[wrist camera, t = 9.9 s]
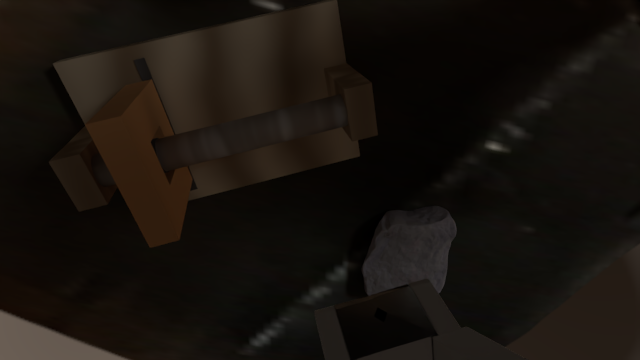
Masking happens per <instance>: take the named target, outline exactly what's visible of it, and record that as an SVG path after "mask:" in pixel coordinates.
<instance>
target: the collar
mask: <svg viewBox="0 0 640 360" xmlns="http://www.w3.org/2000/svg"><path fill="white" fill-rule="evenodd" d="M85 126H86V128H87V130H88V132H89V134H90V136H91V138H92V139H93V141H94V143H95V145H96V147H97V149H98V151H99V153H100V155H101V156H102V158H103V160H104V162H105V164H106V166H107V168H108V170H109V172H110V173H111V175H112V177H113V179H114V181H115V183H116V185H117V187H118V188H119V190H120V192H121V194H122V196H123V198H124V200H125V202H126V204H127V205H128V207H129V209H130V211H131V213H132V215H133V217H134V219H135V221H136V222H137V224H138V226H139V228H140V230H141V232H142V234H143V236H144V238H145V239H146V241H147V243H148V245H149V247H150V248H152V247H155V246H159V245H163V244H167V243H170V242H174V241H178V240H180V235H181V231H182V226H183V221H184V217H185V212H186V208H187V203H188V198H189V194H190V189H191V184H192V180H193V179H192V176H191V174H190V172H189V169H188V167H187V166H186V167H182V168H178V169H174V170H170V171H169V172H168V173H164V171H163V169H162V167H161V164H160V162H159V160H158V158H157V155H156V153H155V151H154V149H153V146H152V144H151V141H152V139H154V138H159V139H160V138H164V137H168V136H172V135H174V132H173V130H172V128H171V125H170V123H169V120H168V118H167V115H166V113H165V110H164V108H163V106H162V103H161V101H160V98H159V96H158V93H157V91H156V88H155V86H154V84H153V81H152V79H150V80H146V81H142V82H138V83H133V84H129V85H125V86H124V87H123V88H122V89H121V90H120V91H119V92H118V93H117V94H116V95H115V96H114V97H113V98H112V99H111V100H110V101H109V102H108V103H107V104H106V105H105V106H104V107H103V108H102V109H100V110H99V111H98V112H97V113H96V114H95V115H94V116H93V117H92V118H91V119H90V120H89V121H88V122H87V123H86V124H85Z"/></svg>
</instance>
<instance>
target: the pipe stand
mask: <svg viewBox="0 0 640 360" xmlns="http://www.w3.org/2000/svg"><path fill="white" fill-rule="evenodd" d="M53 65H54V67H55V69H56V71H57V73H58V75H59V77H60V78H61V80H62V82H63V84H64V86H65V88H66V90H67V92H68V94H69V95H70V97H71V99H72V101H73V103H74V105H75V107H76V109H77V111H78V112H79V114H80V116H81V118H82V120H83V122H84V124H86V123H87V122H88V121H89V120H90V119H91V118H92V117H93V116H94V115H95V114H96V113H97V112H98V111H99V110H100V109H102V108H103V107H104V106H105V105H106V104H107V103H108V102H109V101H110V100H111V99H112V98H113V97H114V96H115V95H116V94H117V93H118V92H119V91H120V90H121V89H122V88H123V87H124V86H125V85H129V84H133V83H138V82H142V81H146V80H150V79H152V81H153V84H154V86H155V88H156V91H157V93H158V96H159V98H160V101H161V103H162V106H163V108H164V110H165V113H166V115H167V118H168V120H169V123H170V125H171V128H172V130H173V132H174V135H172V136H168V137H164V138H160V139H159V138H154V139H152V141H151V144H152V146H153V149H154V151H155V153H156V155H157V158H158V160H159V162H160V164H161V167H162V169H163V171H164V173H168V172H169V171H170V170H174V169H178V168H182V167H186V166H187V167H188V169H189V172H190V174H191V176H192V179H193V180H192V184H191V189H190V194H189V198H188V201H189V200H193V199H197V198H201V197H205V196H209V195H213V194H216V193H220V192H224V191H228V190H232V189H236V188H239V187H243V186H247V185H251V184H255V183H259V182H263V181H266V180H270V179H274V178H278V177H282V176H286V175H289V174H293V173H297V172H301V171H305V170H309V169H313V168H316V167H320V166H324V165H328V164H332V163H336V162H339V161H343V160H347V159H351V158H355V157H359V156H360V152H359V145H358V140H361V139H365V138H369V137H373V136H376V135H378V131H377V123H376V114H375V106H374V98H373V89H372V83H371V82H370V81H369V80H368V79H366V78H365V77H364V76H362V75H361V74H360V73H358V72H357V71H356V70H355V69H353V68H352V67H351V66H349V65H348V64H347V63H346V58H345V51H344V44H343V37H342V31H341V24H340V17H339V11H338V4H337V0H325V1H321V2H316V3H312V4H307V5H303V6H298V7H294V8H289V9H285V10H281V11H276V12H272V13H267V14H263V15H258V16H254V17H249V18H245V19H240V20H236V21H232V22H227V23H223V24H218V25H214V26H209V27H205V28H200V29H196V30H191V31H187V32H183V33H178V34H174V35H169V36H165V37H160V38H156V39H151V40H147V41H142V42H138V43H134V44H129V45H125V46H120V47H116V48H111V49H107V50H102V51H98V52H94V53H89V54H85V55H80V56H76V57H71V58H67V59H62V60H59V61H57V62H55V63H53ZM49 164H50V165H51V167H52V169H53V170H54V172H55V174H56V175H57V177H58V178H59V180H60V182H61V183H62V185H63V187H64V188H65V190H66V192H67V193H68V195H69V196H70V198H71V200H72V201H73V203H74V205H75V206H76V208H77V209H78V211H79V212H80V211H84V210H88V209H92V208H96V207H100V206H103V205H107V204H108V203H109V201H110V199H111V198H112V196H113V194H114V192H115V191H116V189H117V185H116V183H115V181H114V179H113V177H112V175H111V173H110V172H109V170H108V168H107V166H106V164H105V162H104V160H103V158H102V156H101V155H100V153H99V151H98V149H97V147H96V145H95V143H94V141H93V139H92V138H91V136H90V134H89V132H88V130H87V128H86V126H84V127H83V128H82V129H81V130H80V131H79V132H78V133H77V134H76V135H75V136H74V137H73V138H72V139H71V140H70V141H69V142H68V143H67V144H66V145H65V146H64V147H63V148H62V149H61V150H60V151H59V152H58V153H57V154H56V155H55V156H54V157H53V158H52V159H51V160H50V161H49Z"/></svg>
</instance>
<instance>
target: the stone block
mask: <svg viewBox="0 0 640 360" xmlns="http://www.w3.org/2000/svg"><path fill="white" fill-rule="evenodd" d="M456 230H457V228H456V224H455V222H454V220H453V219H452V217H451V215H450V213H449V212H448V210H446V209H444V208H443V207H440V206H429V207H423V208H419V209H415V210H413V211H402V210H391V211H387V212H386V213H385V215H384V216H383V217H382V219H381V220H380V222H379V224H378V226H377V228H376V229H375V233H374V236H373V238H372V242H371V245H370V246H369V248H368V253H367V255H366V257H365V260H364V263H363V265H362V269H361V272H362V274H363V277H364V289H365V291H366V293H367V294H368V296H371V295H373V294H376V293H379V292H382V291H386V290H389V289H392V288H395V287H399V286H402V285H405V284H407V285H408V284H409V283H413V282H416V281H420V280H423V279H426V278H427V279H428V280H430V282H431V283H432V285H433V286H434V288H435V289H436V291H437V292H438V294H439V293H440V292H441V290H442V288H443V287H444V283H445V278H446V273H447V259H448V251H449V248H450V246H451V241H452V240H453V239H454V237H455V236H456Z"/></svg>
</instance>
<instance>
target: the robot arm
mask: <svg viewBox="0 0 640 360" xmlns="http://www.w3.org/2000/svg"><path fill="white" fill-rule="evenodd" d="M315 318H316V323H317V327H318V331H319V335H320V340H321V344H322V348H323V352H324V357H325V360H527V359H526V358H524V357H522V356H520V355H518V354H516V353H514V352H512V351H511V350H509V349H507V348H505V347H503V346H502V345H500V344H498V343H496V342H494V341H492V340H490V339H489V338H487V337H485V336H483V335H481V334H479V333H477V332H476V331H474V330H472V329H470V328H468V327H464V328H460V326H459V325H458V323H457V321H456V320H455V318H454V317H453V315H452V314H451V312H450V311H449V309H448V308H447V306H446V305H445V303H444V302H443V300H442V298H441V297H440V295H439V294H438V292H437V291H436V289H435V288H434V286H433V285H432V283H431V282H430V280H428V279H427V278H426V279H423V280H420V281H416V282H413V283H409V284H408V285H407V284H405V285H402V286H399V287H395V288H392V289H389V290H386V291H382V292H379V293H376V294H373V295H371V296H367V297H364V298H360V299H356V300H352V301H348V302H345V303H341V304H337V305H334V306H331V307H327V308H323V309H319V310H316V311H315Z"/></svg>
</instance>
